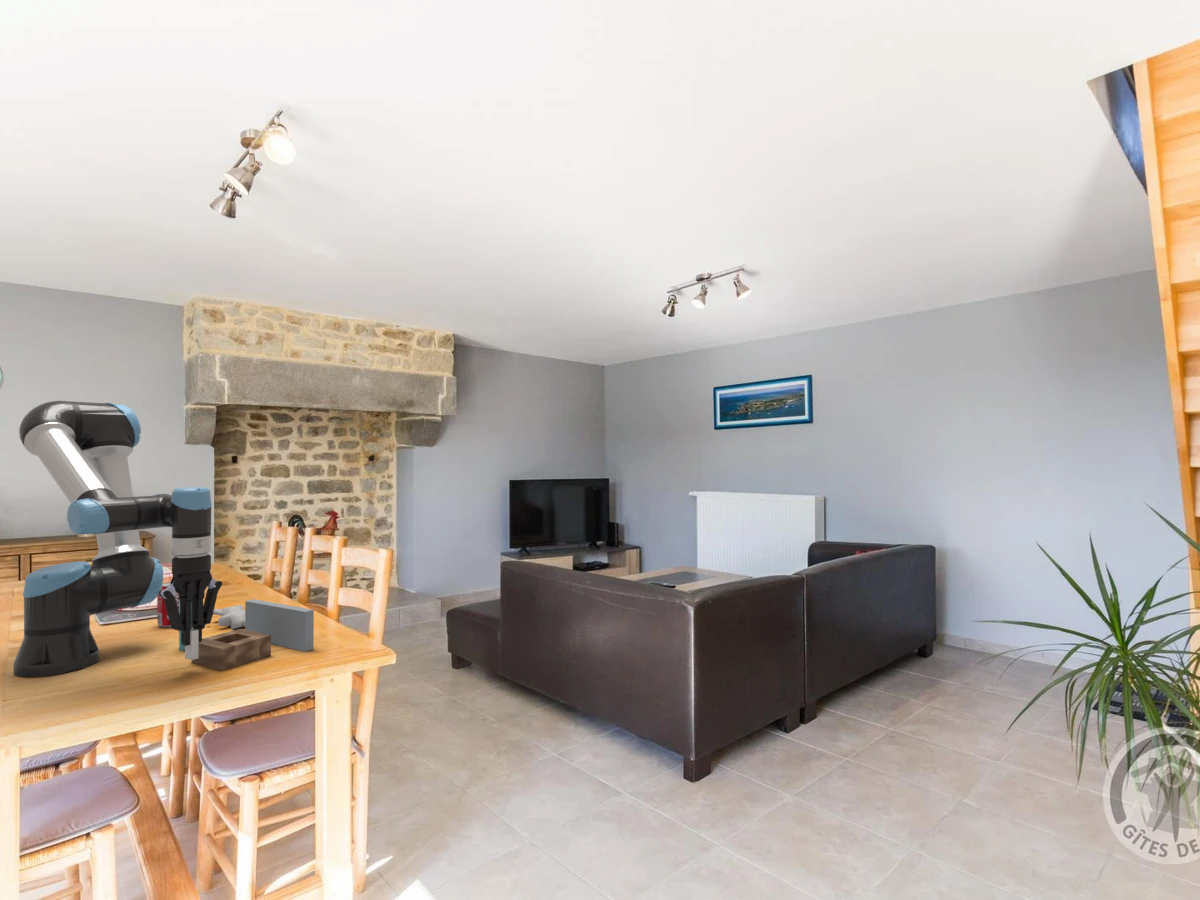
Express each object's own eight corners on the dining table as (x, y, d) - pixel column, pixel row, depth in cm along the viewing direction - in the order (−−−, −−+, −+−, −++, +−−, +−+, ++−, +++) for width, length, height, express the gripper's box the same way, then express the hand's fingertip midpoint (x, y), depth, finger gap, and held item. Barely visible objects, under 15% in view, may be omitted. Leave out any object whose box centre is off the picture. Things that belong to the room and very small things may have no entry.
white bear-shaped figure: (224, 618, 173) (208, 603, 183) (223, 636, 173) (207, 620, 183) (261, 612, 180) (243, 597, 190) (260, 629, 180) (243, 614, 190)
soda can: (192, 622, 184) (192, 581, 184) (173, 628, 176) (174, 586, 176) (170, 621, 184) (170, 580, 184) (150, 628, 177) (150, 585, 177)
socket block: (222, 670, 143) (222, 648, 143) (191, 662, 149) (191, 641, 149) (270, 655, 154) (270, 635, 154) (240, 648, 159) (240, 628, 159)
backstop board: (305, 651, 157) (305, 611, 157) (245, 638, 168) (245, 601, 168) (313, 649, 159) (313, 609, 159) (253, 636, 170) (253, 599, 170)
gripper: (170, 560, 135) (170, 669, 135) (229, 552, 147) (229, 652, 147) (151, 558, 139) (151, 664, 139) (211, 549, 150) (211, 647, 150)
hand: (191, 658), depth 143 cm, fingers closed
